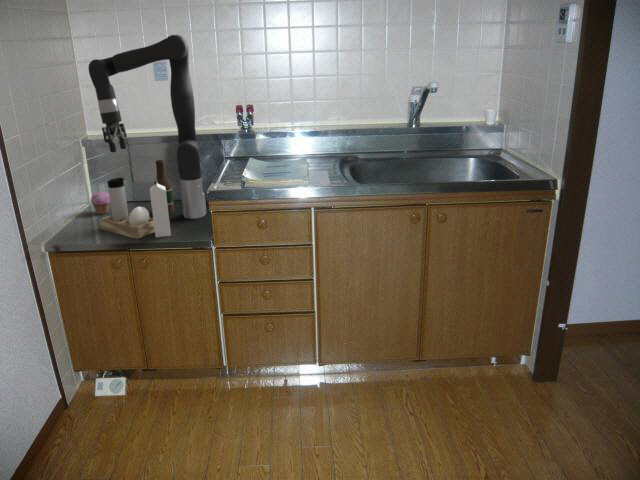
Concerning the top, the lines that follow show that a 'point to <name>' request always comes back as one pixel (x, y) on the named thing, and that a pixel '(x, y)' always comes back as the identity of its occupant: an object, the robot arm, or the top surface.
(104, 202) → the cupcake
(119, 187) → the travel mug
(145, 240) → the top surface
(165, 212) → the milk
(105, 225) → the wooden compartment box
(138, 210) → the saucer
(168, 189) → the beer bottle
